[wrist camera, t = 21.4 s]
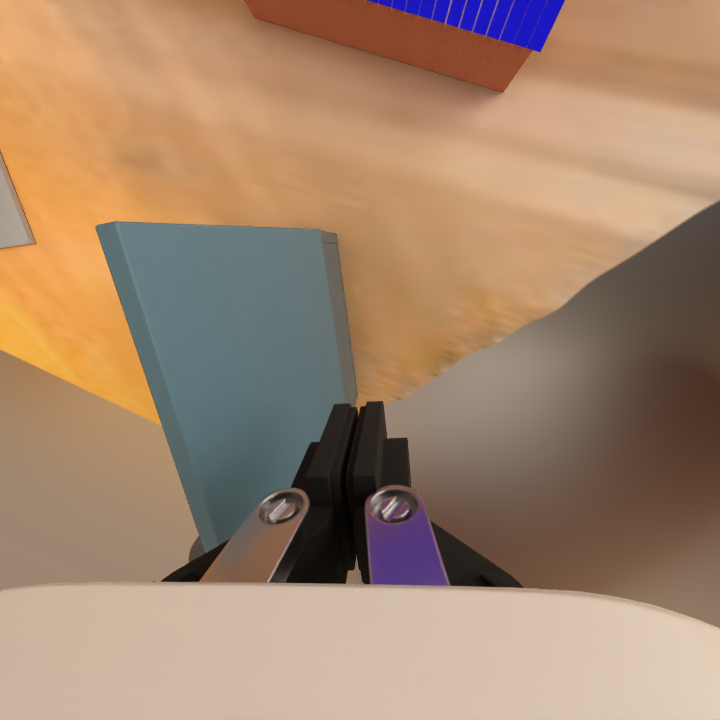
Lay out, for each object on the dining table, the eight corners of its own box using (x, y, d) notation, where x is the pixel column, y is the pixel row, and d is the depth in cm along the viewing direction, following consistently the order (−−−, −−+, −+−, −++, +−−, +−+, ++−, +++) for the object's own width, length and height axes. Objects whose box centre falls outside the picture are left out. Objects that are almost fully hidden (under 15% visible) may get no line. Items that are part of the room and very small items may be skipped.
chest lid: (229, 628, 14) (246, 632, 14) (93, 225, 9) (115, 220, 9) (341, 439, 27) (351, 439, 27) (309, 230, 22) (320, 229, 22)
